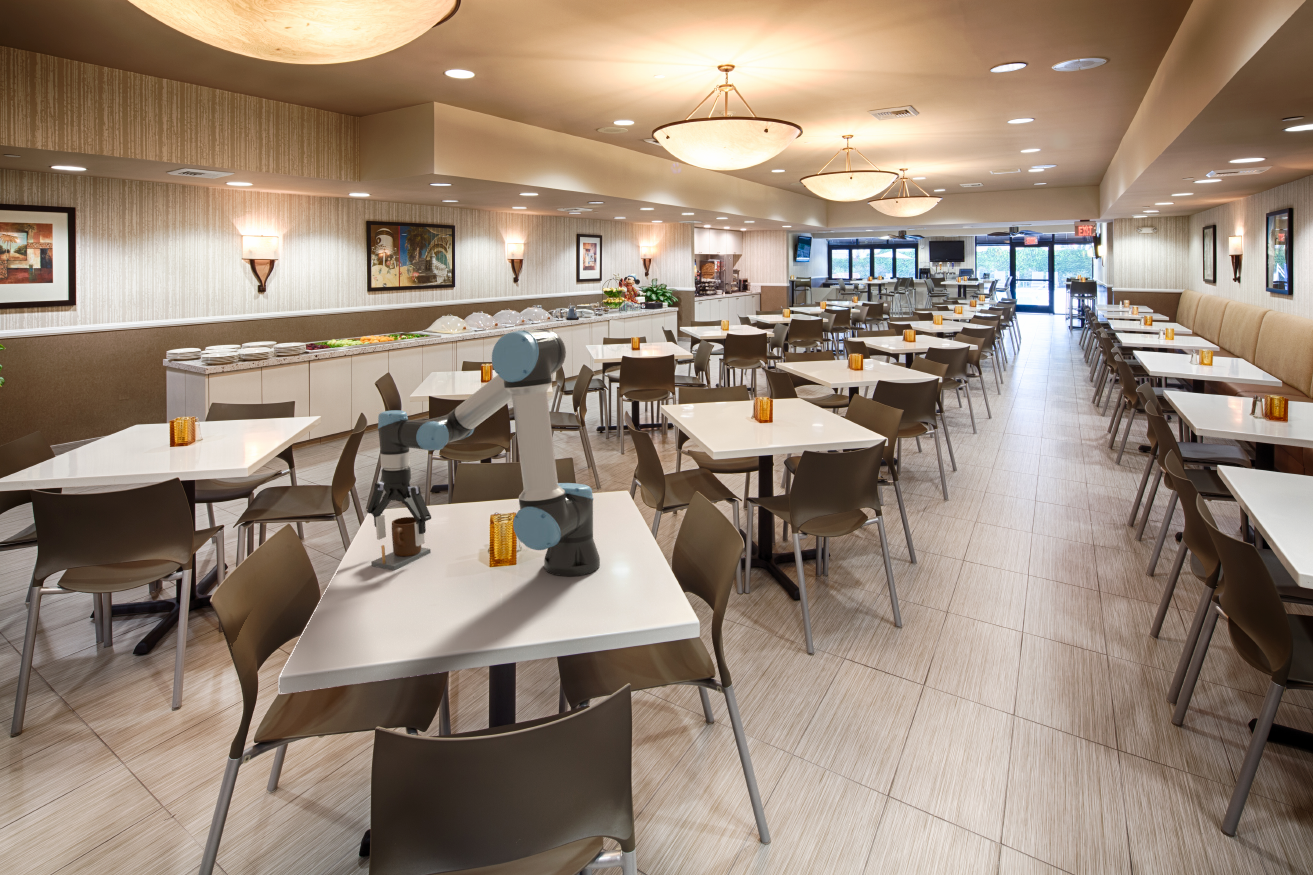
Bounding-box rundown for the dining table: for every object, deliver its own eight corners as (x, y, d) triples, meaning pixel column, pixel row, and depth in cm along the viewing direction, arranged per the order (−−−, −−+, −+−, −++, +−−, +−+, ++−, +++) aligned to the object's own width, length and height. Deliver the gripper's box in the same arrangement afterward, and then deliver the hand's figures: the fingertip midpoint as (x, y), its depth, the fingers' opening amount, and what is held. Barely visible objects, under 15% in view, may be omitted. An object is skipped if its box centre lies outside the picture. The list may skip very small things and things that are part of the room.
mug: (410, 563, 198) (408, 530, 197) (382, 562, 199) (380, 529, 197) (425, 548, 210) (423, 516, 208) (399, 547, 210) (397, 516, 209)
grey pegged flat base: (430, 552, 210) (429, 532, 209) (394, 570, 197) (393, 548, 195) (408, 549, 213) (407, 528, 212) (371, 565, 200) (370, 544, 198)
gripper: (441, 468, 198) (445, 543, 203) (370, 460, 208) (375, 531, 212) (423, 474, 192) (427, 551, 196) (350, 465, 201) (356, 539, 205)
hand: (400, 541), depth 204 cm, fingers open, 13 cm apart
